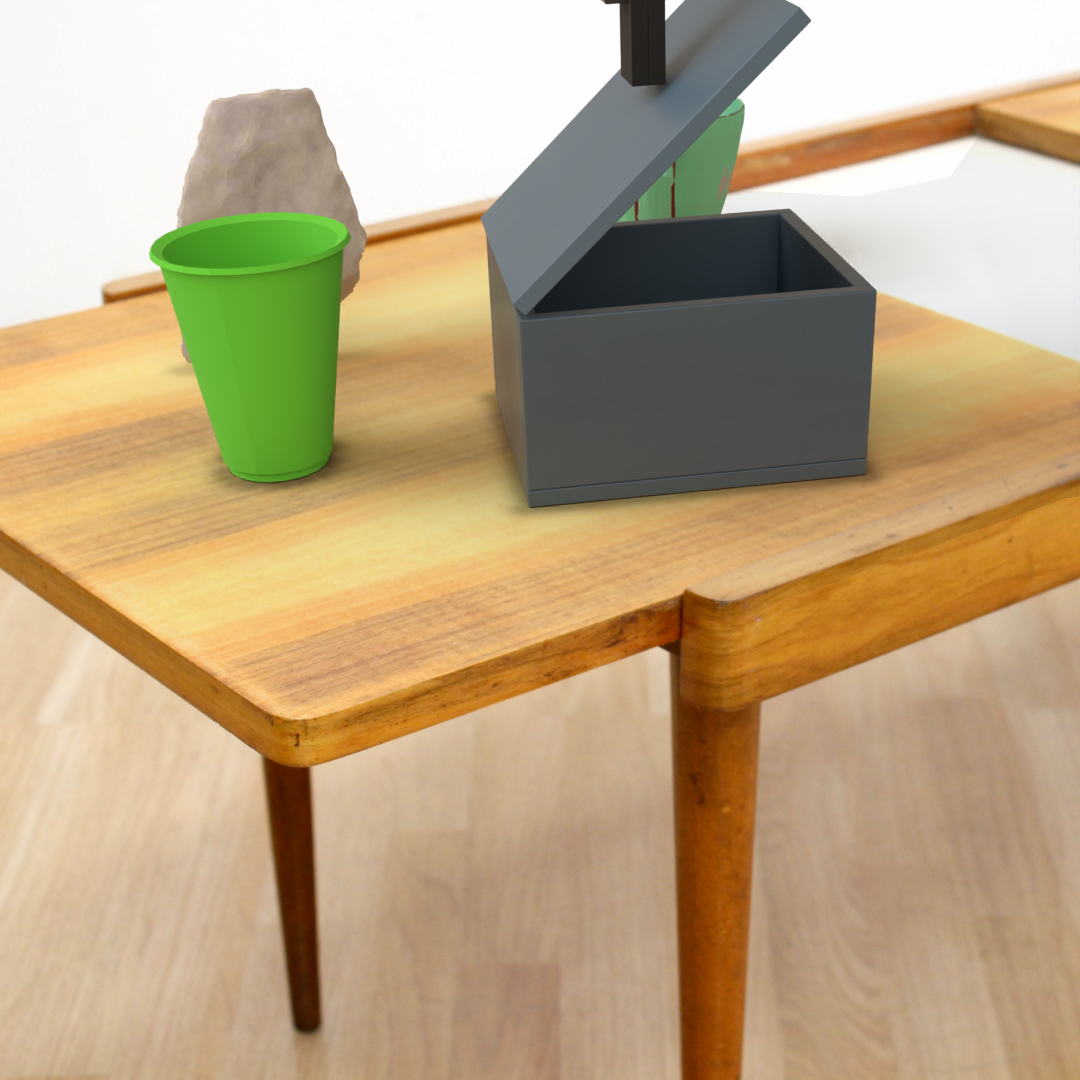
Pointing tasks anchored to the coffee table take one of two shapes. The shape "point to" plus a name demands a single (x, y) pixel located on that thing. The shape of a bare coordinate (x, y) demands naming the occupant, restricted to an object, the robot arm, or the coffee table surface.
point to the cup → (261, 333)
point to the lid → (630, 140)
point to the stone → (270, 168)
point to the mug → (696, 174)
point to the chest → (688, 361)
